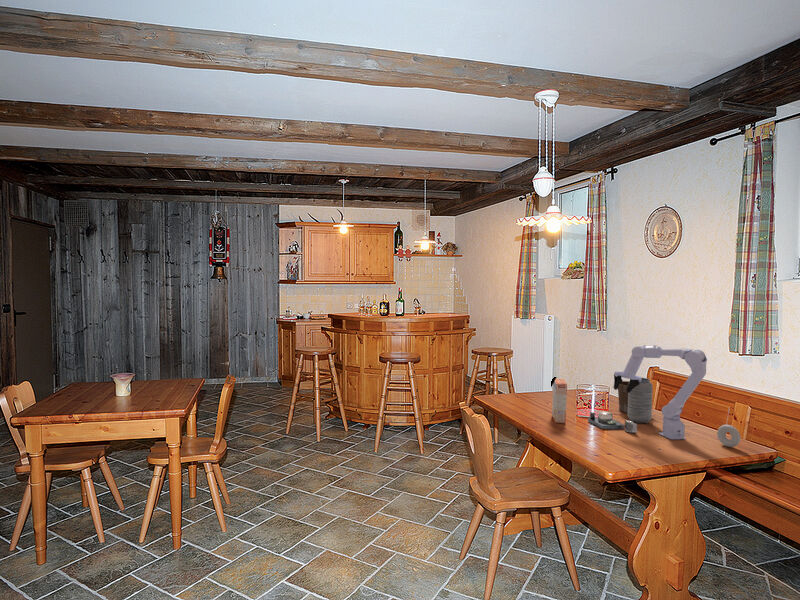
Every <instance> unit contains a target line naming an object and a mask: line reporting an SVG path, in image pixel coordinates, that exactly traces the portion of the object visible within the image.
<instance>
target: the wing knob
mask: <svg viewBox="0 0 800 600" xmlns="http://www.w3.org/2000/svg"><path fill="white" fill-rule="evenodd" d="M624 425H625V429H624V431H625V432H626V433H631V434H636V433H637V432H638V423H634V422H633V421H630V419H629V420H627V419H626V420H624Z"/></svg>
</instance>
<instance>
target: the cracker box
mask: <svg viewBox="0 0 800 600" xmlns="http://www.w3.org/2000/svg"><path fill="white" fill-rule="evenodd" d="M567 392H568V384H567V382H566V381H565V379H562V378H555V379H554V380H553V382H552V407H551V410H552V411H551V417H552V419H553V421H554V423H557V424H566V422H567V418H566V417H567V400H568V399H567V397H568V396H567V395H568V393H567Z"/></svg>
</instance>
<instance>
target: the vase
mask: <svg viewBox="0 0 800 600" xmlns="http://www.w3.org/2000/svg"><path fill="white" fill-rule="evenodd" d="M641 378H642V380H641V382H639V385H637V386H636V387H635V388H633V389H632V390H631V392H630V393H628V413H626V415H627V418H628V419H629V421H630V420H631V421H633V423H634V422H636V423H635V424H639V423H646V424H649V422H650V421H651V420H652V416H653V415H652V414H653V413H652V411H653V390H654V389H653V388H654V386H653V383H652V382H651V380H650V378H647V377H641ZM628 385H629V384H628Z"/></svg>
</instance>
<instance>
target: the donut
mask: <svg viewBox="0 0 800 600" xmlns="http://www.w3.org/2000/svg"><path fill="white" fill-rule="evenodd" d="M727 433H730V437H731V438H730V439H729V438H728V436H726V434H727ZM716 435H717V436H716V437H717V438H718V440H719V442H720V443H721V444H722V445H724V446H725V447H727V448H735V447H736V446H738V445H739V444H740V442H741V434H740V432H739V430H738V429H737V428H736V427H734V426H733V425H731V424H723V425H721V426H719V428H718V429H717V433H716Z"/></svg>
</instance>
